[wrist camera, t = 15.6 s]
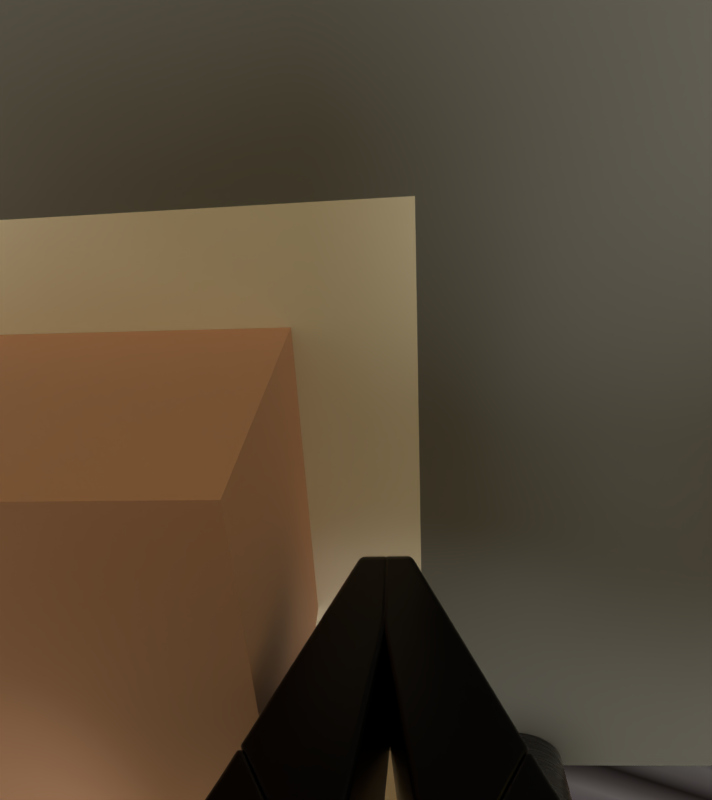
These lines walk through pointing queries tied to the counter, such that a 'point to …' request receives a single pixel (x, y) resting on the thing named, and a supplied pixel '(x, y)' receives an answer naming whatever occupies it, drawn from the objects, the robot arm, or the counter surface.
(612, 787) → the counter surface
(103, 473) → the block
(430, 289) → the grey panel
